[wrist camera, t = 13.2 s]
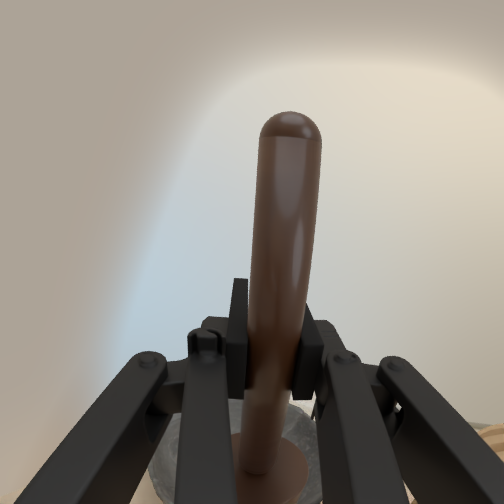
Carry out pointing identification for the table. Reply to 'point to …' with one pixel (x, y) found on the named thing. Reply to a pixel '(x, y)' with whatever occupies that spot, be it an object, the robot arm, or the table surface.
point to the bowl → (294, 430)
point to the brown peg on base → (277, 308)
